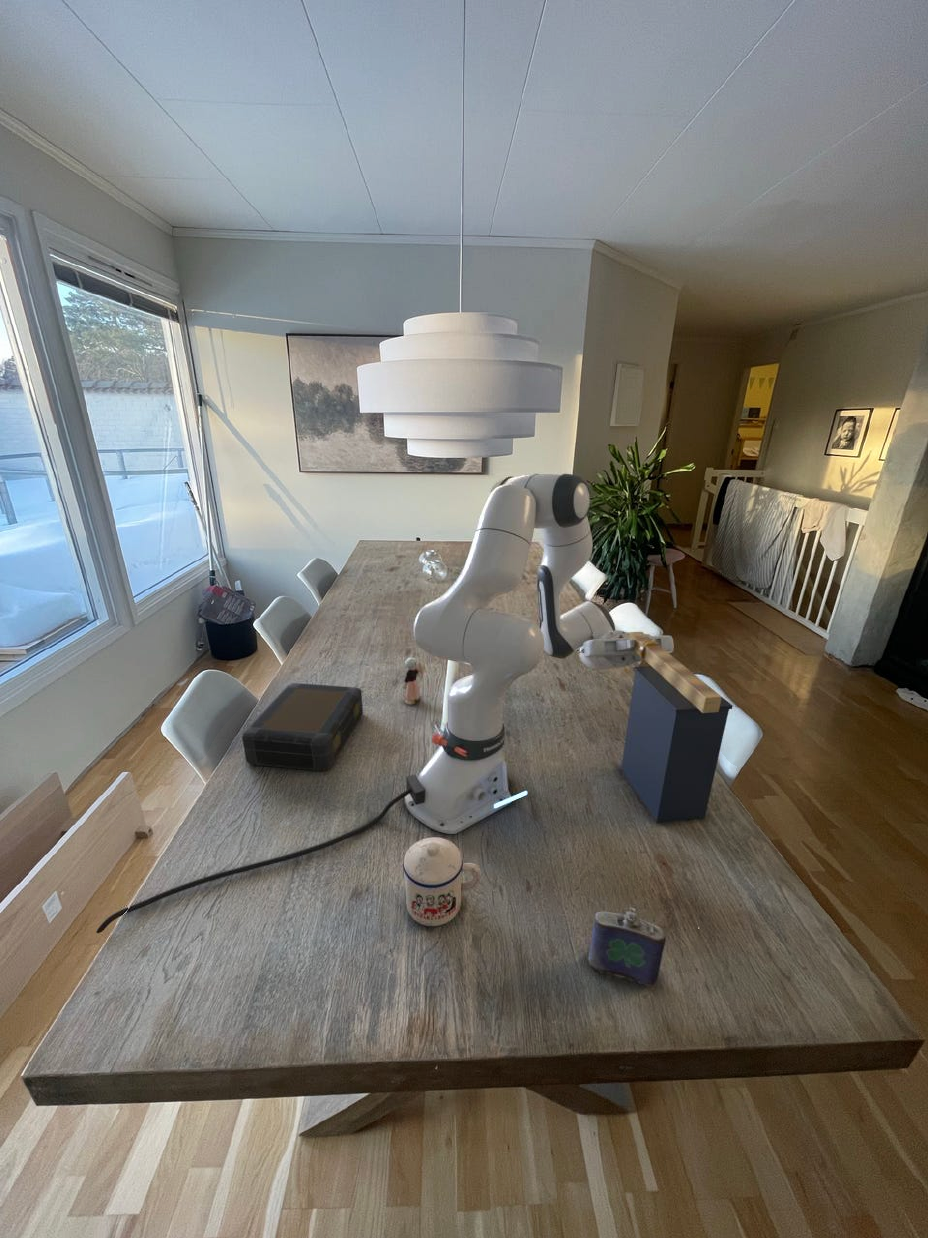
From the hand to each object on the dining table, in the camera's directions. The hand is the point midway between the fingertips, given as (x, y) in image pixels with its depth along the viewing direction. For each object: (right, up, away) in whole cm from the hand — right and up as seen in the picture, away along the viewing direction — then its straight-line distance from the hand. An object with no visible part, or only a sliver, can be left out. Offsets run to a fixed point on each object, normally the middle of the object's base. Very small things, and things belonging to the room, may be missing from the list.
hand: (643, 643), depth 110 cm
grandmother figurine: (-52, -17, +30) cm, 63 cm away
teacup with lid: (-42, -40, -29) cm, 65 cm away
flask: (-16, -44, -39) cm, 61 cm away
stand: (+2, -31, -4) cm, 31 cm away
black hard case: (-76, -23, +13) cm, 81 cm away
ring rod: (+1, -6, -9) cm, 11 cm away
